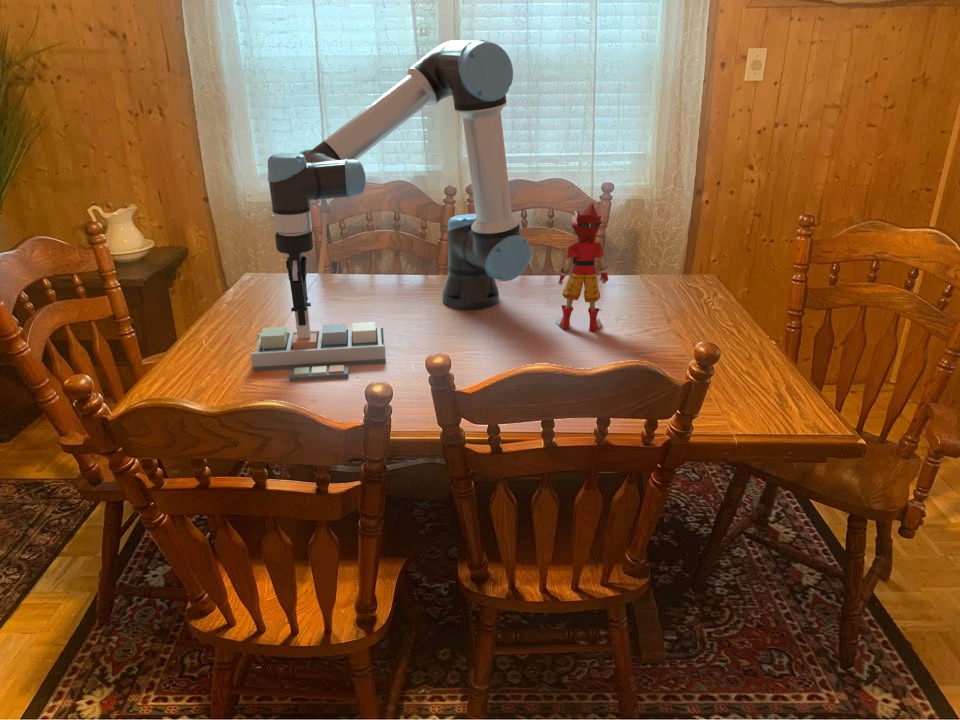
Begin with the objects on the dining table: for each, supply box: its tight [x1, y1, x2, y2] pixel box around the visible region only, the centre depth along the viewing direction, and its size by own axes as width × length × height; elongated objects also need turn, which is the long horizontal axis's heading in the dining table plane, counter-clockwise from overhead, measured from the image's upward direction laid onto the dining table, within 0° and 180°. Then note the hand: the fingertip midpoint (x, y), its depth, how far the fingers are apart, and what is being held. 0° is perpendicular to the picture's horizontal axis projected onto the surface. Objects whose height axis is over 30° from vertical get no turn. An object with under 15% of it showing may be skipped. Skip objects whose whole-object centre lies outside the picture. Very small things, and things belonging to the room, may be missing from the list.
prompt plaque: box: [288, 365, 350, 383], centre depth 155 cm, size 12×4×1 cm, turn 99°
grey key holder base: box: [250, 325, 387, 372], centre depth 163 cm, size 28×12×4 cm, turn 99°
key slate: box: [321, 322, 347, 345], centre depth 162 cm, size 5×5×3 cm
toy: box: [554, 202, 610, 333], centre depth 174 cm, size 12×9×30 cm
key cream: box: [351, 321, 376, 343], centre depth 163 cm, size 5×5×3 cm
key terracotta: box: [292, 333, 318, 350], centre depth 162 cm, size 5×5×3 cm
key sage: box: [260, 326, 288, 349], centre depth 160 cm, size 5×5×3 cm
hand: (304, 336), depth 161 cm, fingers closed
